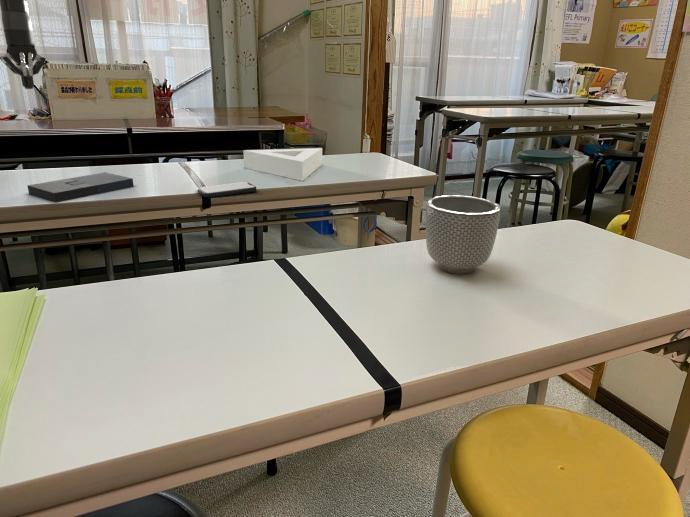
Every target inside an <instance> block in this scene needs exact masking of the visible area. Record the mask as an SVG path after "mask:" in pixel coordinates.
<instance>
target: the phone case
mask: <svg viewBox="0 0 690 517" xmlns="http://www.w3.org/2000/svg"><path fill="white" fill-rule="evenodd" d="M256 191H257V186H256V185H254V184H252V183H250V182H248V181H240V182H232V183H231V182H230V183H223V184H215V185H206V186H199V187H197V193H198V194H200V195H201V196H202V197H204V198H216V197H224V196H231V195H232V196H233V195H238V194H247V193H254V192H256Z"/></svg>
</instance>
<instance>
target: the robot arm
mask: <svg viewBox="0 0 690 517" xmlns="http://www.w3.org/2000/svg"><path fill="white" fill-rule="evenodd" d="M0 14H1V23H2V29H3V33H4V34H3V35H4V39H5V44H6V46H7V47H6V51H5V52H6V53H5V54H4V55H2V56H0V61H1V62H2V63H3V64H4V65H5V66H6V67H7V68H8V69H9V70H10V71H11V72H12V73H13V74H15V75H18V76H20V78H21V80H20V81H21V85H22V87H23V88H24V89H25V90H33V89H34V87H35V83H34V75H38V74H39V73H40V71H41V69H42V67H43V66H44V64H45V62H46V60H47V59H46V58H45V57H43V56H41V55H40V54H39V53H38V50H37V49H36V43H35V37H34V31H33V26H32V21H31V20H32V19H31V17H30V14H29V8H28V3H27V0H0Z"/></svg>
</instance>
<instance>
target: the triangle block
mask: <svg viewBox="0 0 690 517" xmlns="http://www.w3.org/2000/svg"><path fill="white" fill-rule="evenodd" d="M242 151H243V152H242V153H243V168H244V169H248V170H253V171H255V172H256V171H257V172H262V173H265V174H269V175H275V176H279V177H284V178H289V179H292V180H296V181H302V182H303V181H304V180H305V179H307V178H308V177H309V176H311V174H313V173H314V172H316V171H317V170H318V169H319V168H320V167H321V166H323V147H307V148H277V149H276V148H275V149H271V148H270V149H245V150H244V149H243V150H242Z"/></svg>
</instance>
